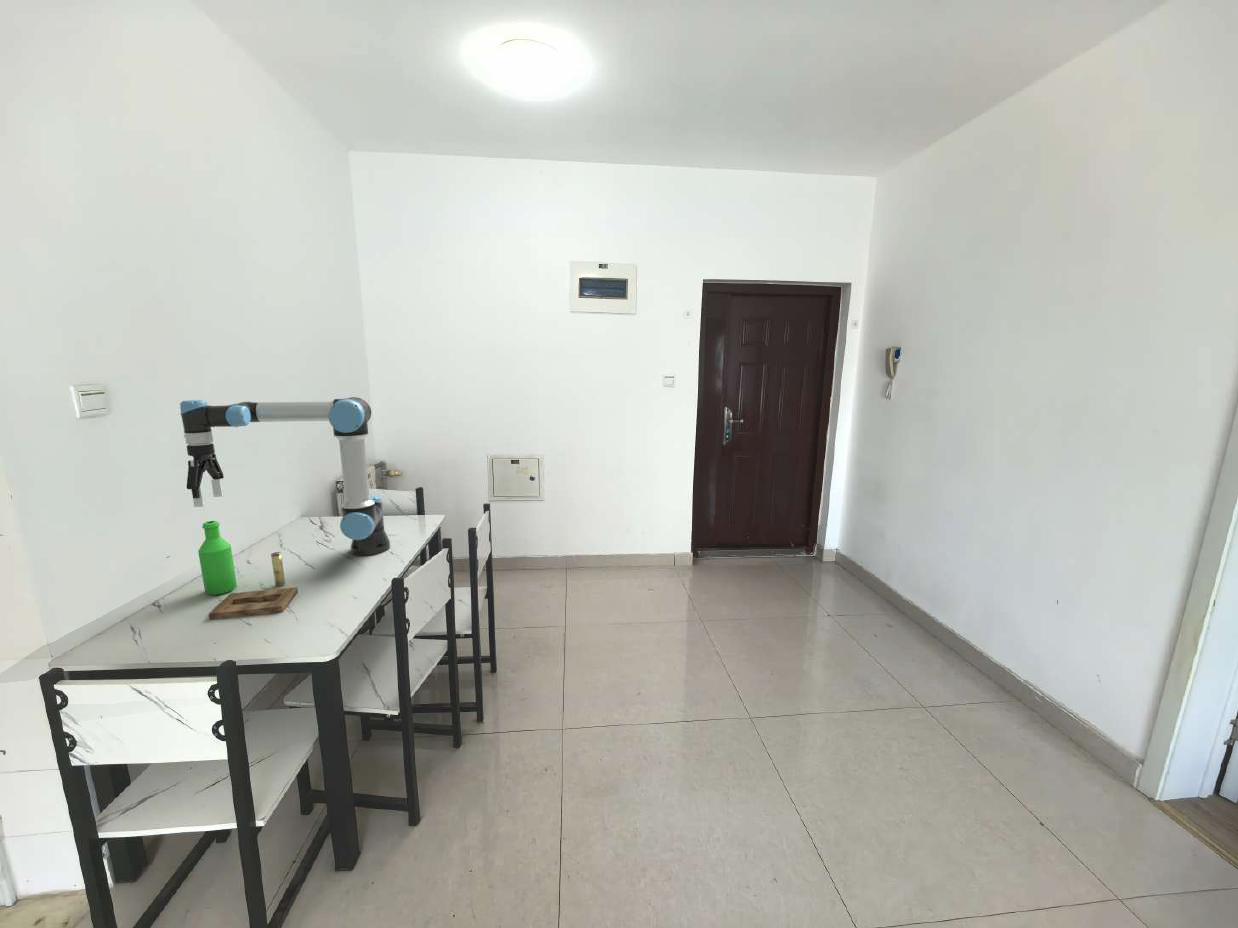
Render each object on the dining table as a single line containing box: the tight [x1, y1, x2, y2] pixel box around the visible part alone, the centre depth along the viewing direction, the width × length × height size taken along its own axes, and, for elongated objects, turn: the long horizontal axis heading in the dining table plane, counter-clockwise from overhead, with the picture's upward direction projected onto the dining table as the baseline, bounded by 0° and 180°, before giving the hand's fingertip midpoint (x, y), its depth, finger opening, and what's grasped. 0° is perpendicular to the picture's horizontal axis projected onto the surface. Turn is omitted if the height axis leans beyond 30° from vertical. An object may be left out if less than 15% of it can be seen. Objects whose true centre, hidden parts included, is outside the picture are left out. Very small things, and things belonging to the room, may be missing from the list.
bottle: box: [198, 520, 238, 596], centre depth 173 cm, size 9×9×25 cm
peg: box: [270, 551, 286, 588], centre depth 179 cm, size 3×3×12 cm
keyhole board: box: [208, 586, 299, 621], centre depth 165 cm, size 20×14×2 cm
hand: (209, 501), depth 183 cm, fingers open, 13 cm apart
